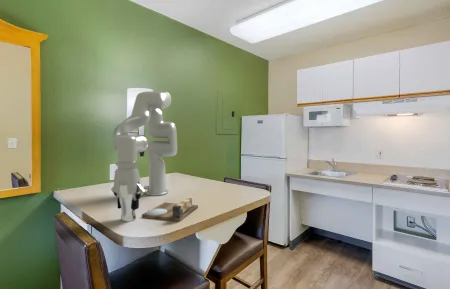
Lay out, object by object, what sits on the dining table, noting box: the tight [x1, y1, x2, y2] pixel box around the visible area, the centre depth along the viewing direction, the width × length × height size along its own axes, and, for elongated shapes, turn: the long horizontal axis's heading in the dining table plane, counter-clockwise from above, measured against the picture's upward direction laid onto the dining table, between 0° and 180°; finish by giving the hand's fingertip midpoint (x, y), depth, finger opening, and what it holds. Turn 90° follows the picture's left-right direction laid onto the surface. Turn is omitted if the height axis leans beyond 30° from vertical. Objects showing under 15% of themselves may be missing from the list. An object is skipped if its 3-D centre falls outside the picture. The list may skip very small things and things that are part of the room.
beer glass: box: [119, 185, 137, 222], centre depth 102 cm, size 7×7×15 cm
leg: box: [173, 198, 191, 216], centre depth 107 cm, size 14×3×4 cm, turn 165°
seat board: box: [141, 197, 199, 222], centre depth 111 cm, size 18×19×5 cm
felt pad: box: [145, 208, 167, 216], centre depth 108 cm, size 9×9×1 cm
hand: (128, 208), depth 102 cm, fingers closed on beer glass, 6 cm apart
